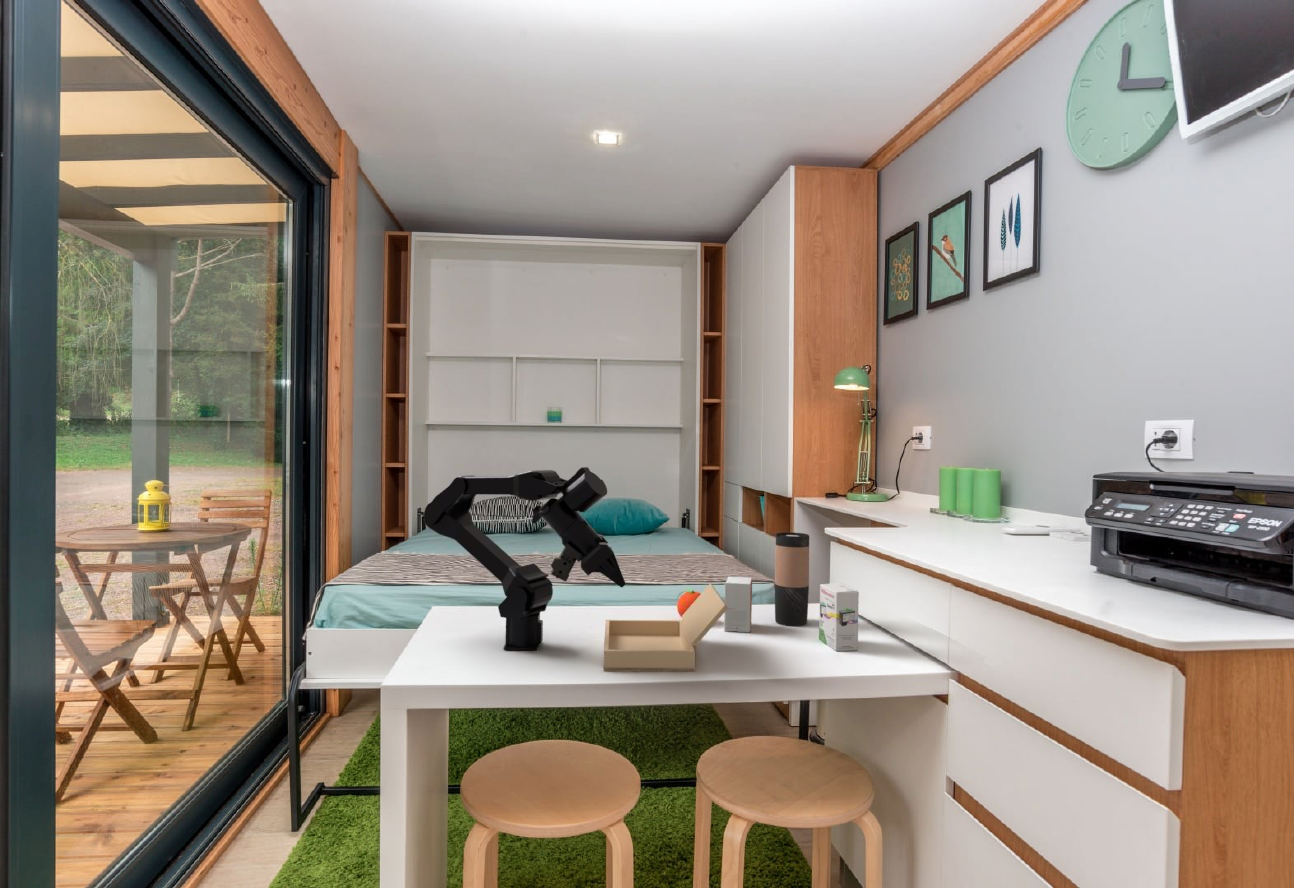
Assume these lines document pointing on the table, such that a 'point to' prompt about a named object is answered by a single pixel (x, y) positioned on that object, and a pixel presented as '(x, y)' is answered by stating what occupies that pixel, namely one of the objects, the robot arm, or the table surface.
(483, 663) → the table surface
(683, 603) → the clementine
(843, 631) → the ink box
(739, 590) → the small box
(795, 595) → the travel mug
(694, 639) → the carton flap
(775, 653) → the table surface
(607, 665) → the carton
